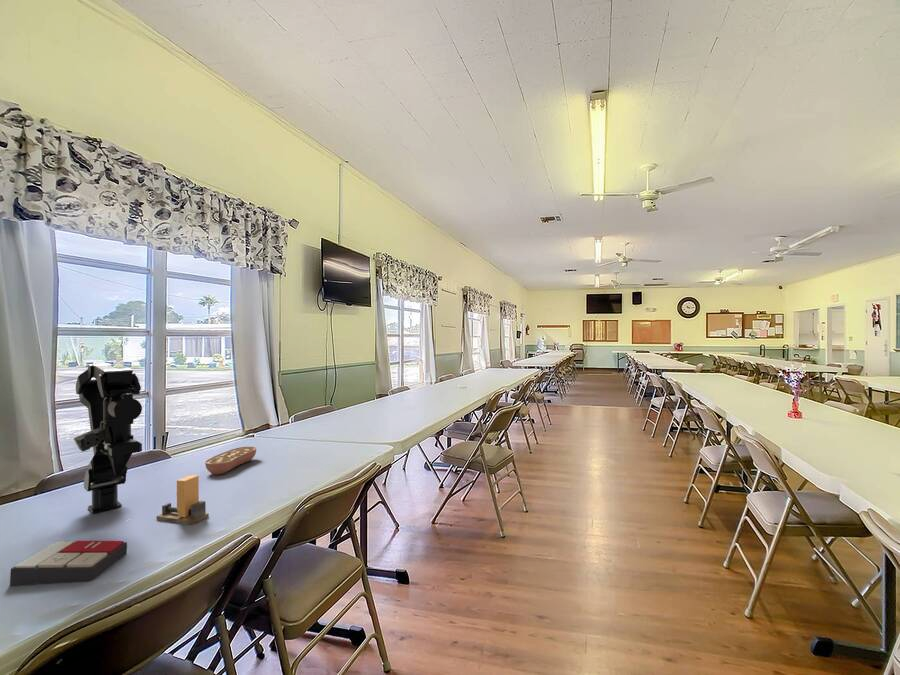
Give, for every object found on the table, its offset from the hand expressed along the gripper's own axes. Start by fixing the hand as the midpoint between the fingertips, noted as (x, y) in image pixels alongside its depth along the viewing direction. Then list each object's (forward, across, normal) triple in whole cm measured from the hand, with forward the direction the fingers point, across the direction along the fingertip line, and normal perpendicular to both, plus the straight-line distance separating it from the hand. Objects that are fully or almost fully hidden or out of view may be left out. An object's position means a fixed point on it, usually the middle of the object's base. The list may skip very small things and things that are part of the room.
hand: (117, 475), depth 111 cm
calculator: (+13, +21, -12) cm, 27 cm away
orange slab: (+11, +13, +12) cm, 21 cm away
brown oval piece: (+12, -24, +39) cm, 48 cm away
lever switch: (+12, +11, +11) cm, 20 cm away
